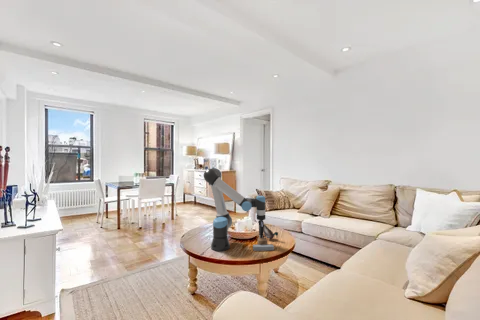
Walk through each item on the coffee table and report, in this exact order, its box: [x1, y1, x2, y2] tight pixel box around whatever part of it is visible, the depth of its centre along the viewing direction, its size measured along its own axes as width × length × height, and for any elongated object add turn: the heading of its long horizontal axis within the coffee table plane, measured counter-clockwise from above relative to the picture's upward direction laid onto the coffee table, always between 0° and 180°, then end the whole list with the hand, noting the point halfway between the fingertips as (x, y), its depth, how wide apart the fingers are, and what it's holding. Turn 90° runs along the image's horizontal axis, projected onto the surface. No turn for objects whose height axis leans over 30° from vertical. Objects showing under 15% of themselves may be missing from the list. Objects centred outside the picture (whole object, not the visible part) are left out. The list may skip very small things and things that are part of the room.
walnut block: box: [257, 237, 268, 245], centre depth 192 cm, size 7×7×6 cm
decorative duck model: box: [263, 224, 279, 240], centre depth 210 cm, size 15×8×15 cm, turn 52°
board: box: [252, 243, 275, 252], centre depth 186 cm, size 16×5×3 cm, turn 94°
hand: (261, 242), depth 198 cm, fingers closed
